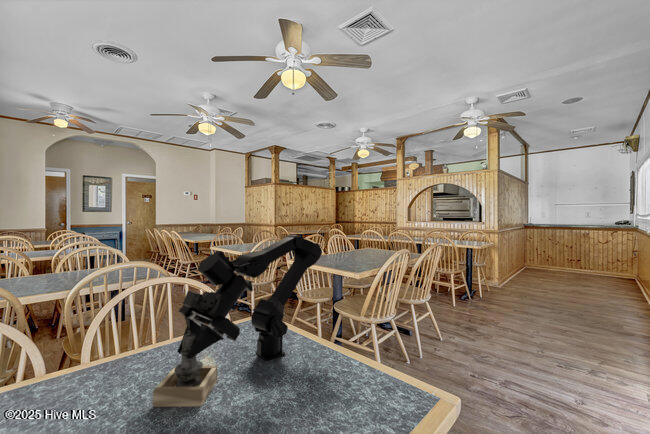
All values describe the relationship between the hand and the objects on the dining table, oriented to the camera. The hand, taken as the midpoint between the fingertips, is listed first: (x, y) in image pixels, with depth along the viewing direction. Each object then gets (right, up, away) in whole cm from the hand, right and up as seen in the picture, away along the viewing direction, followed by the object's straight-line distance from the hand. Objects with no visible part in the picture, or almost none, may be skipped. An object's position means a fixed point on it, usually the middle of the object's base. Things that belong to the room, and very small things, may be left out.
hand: (183, 355), depth 65 cm
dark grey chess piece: (+1, -7, +1) cm, 7 cm away
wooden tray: (+1, -9, +1) cm, 9 cm away
